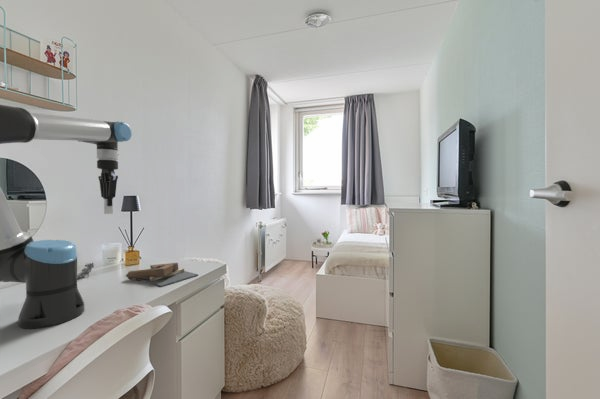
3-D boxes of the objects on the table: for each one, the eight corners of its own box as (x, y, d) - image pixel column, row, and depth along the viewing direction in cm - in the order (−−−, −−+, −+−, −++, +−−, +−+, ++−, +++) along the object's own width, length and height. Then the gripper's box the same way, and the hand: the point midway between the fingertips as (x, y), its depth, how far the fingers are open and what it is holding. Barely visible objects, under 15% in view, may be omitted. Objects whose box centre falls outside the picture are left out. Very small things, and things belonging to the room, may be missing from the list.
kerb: (151, 281, 116) (151, 277, 116) (149, 280, 116) (149, 277, 116) (184, 271, 129) (184, 268, 129) (182, 271, 130) (182, 268, 130)
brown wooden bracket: (178, 262, 126) (143, 265, 128) (163, 268, 115) (125, 272, 118) (178, 270, 126) (144, 273, 128) (164, 276, 115) (126, 280, 118)
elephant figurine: (66, 279, 120) (84, 267, 129) (77, 287, 121) (94, 275, 129) (73, 267, 116) (92, 256, 125) (85, 276, 117) (102, 264, 125)
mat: (161, 287, 110) (161, 285, 110) (126, 275, 125) (126, 274, 125) (198, 275, 126) (198, 274, 125) (163, 266, 140) (163, 265, 140)
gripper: (124, 160, 118) (125, 213, 118) (110, 161, 125) (111, 212, 125) (104, 158, 111) (105, 214, 112) (91, 160, 118) (92, 213, 119)
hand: (108, 213), depth 119 cm, fingers closed
